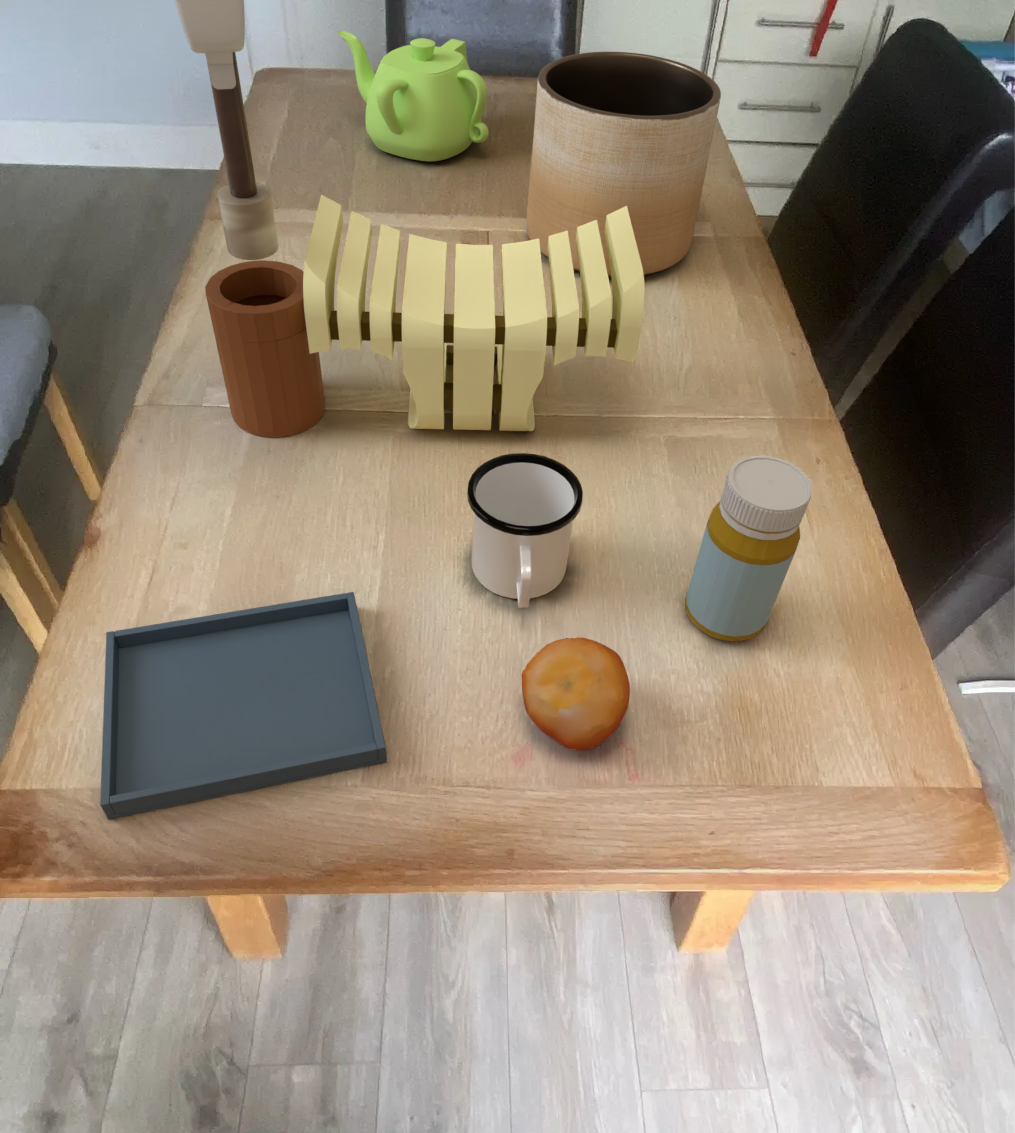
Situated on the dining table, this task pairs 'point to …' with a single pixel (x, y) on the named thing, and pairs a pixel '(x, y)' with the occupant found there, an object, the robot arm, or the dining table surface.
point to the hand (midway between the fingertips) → (223, 77)
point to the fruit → (576, 692)
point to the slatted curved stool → (473, 312)
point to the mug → (522, 524)
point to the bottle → (747, 547)
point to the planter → (621, 150)
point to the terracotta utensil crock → (265, 348)
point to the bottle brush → (242, 182)
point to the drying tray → (235, 704)
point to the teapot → (421, 99)
